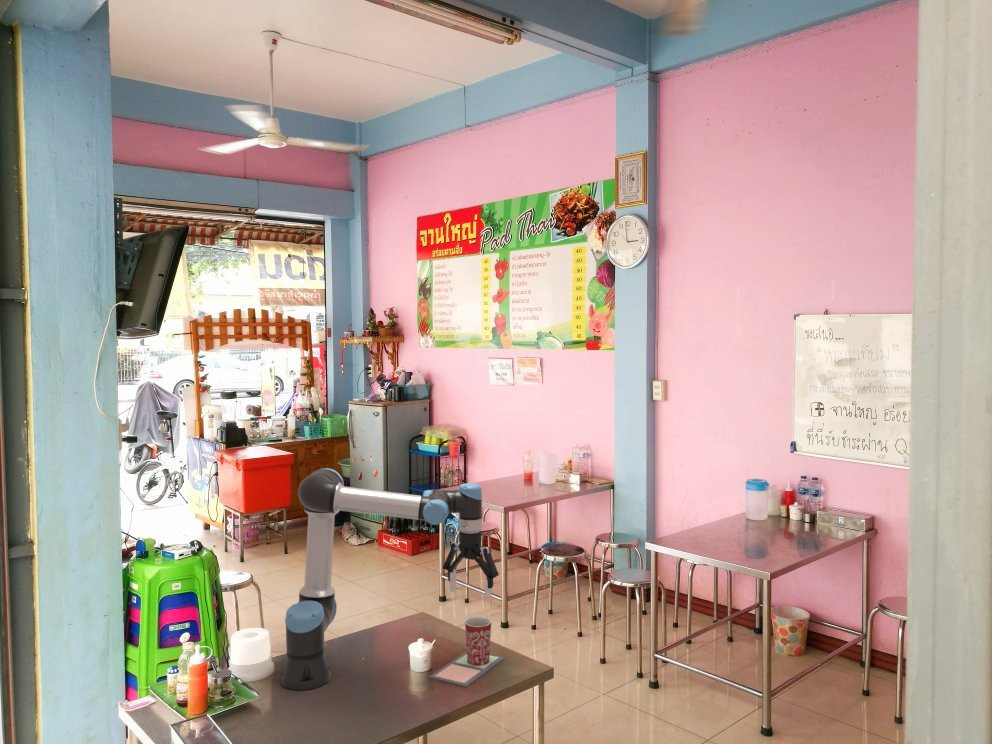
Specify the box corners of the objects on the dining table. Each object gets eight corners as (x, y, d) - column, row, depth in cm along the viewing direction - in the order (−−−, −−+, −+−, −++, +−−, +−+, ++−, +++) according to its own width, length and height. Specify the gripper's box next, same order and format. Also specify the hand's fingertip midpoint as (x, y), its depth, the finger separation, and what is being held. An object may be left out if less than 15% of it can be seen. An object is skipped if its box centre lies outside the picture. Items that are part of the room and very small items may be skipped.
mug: (496, 664, 252) (495, 623, 251) (470, 668, 248) (469, 627, 248) (483, 650, 263) (482, 611, 263) (457, 654, 260) (457, 615, 260)
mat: (429, 678, 243) (429, 676, 243) (468, 651, 264) (468, 649, 264) (466, 687, 237) (466, 685, 237) (504, 659, 257) (504, 657, 257)
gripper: (432, 528, 257) (432, 591, 258) (497, 538, 245) (497, 603, 246) (445, 524, 264) (445, 585, 265) (508, 533, 252) (508, 597, 252)
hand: (470, 594), depth 255 cm, fingers open, 13 cm apart
